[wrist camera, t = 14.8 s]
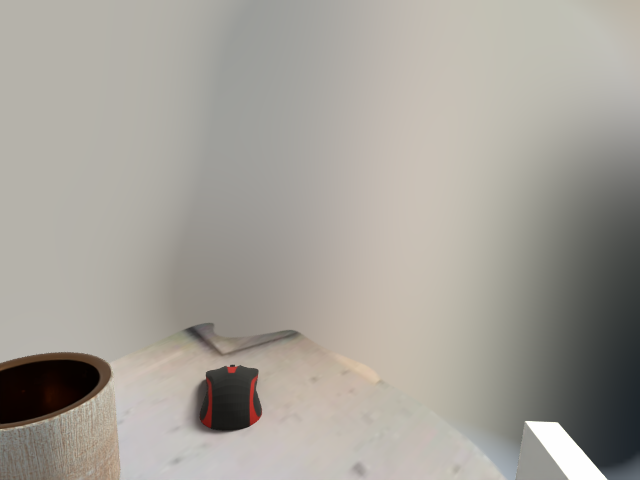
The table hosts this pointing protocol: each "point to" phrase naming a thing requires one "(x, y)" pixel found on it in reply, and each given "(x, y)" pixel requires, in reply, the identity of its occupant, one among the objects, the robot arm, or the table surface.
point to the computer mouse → (231, 398)
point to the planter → (58, 418)
